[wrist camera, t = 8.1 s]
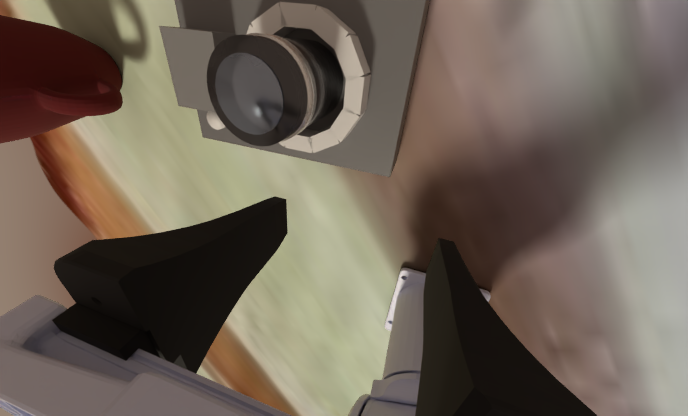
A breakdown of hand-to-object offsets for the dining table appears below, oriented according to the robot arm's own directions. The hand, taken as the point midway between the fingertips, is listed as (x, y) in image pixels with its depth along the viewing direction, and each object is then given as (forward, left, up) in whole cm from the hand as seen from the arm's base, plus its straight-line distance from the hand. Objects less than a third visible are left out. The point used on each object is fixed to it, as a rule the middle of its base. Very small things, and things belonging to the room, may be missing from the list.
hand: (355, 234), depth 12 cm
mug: (+3, +26, -10) cm, 28 cm away
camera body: (+5, +7, -10) cm, 13 cm away
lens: (+5, +6, -7) cm, 10 cm away
